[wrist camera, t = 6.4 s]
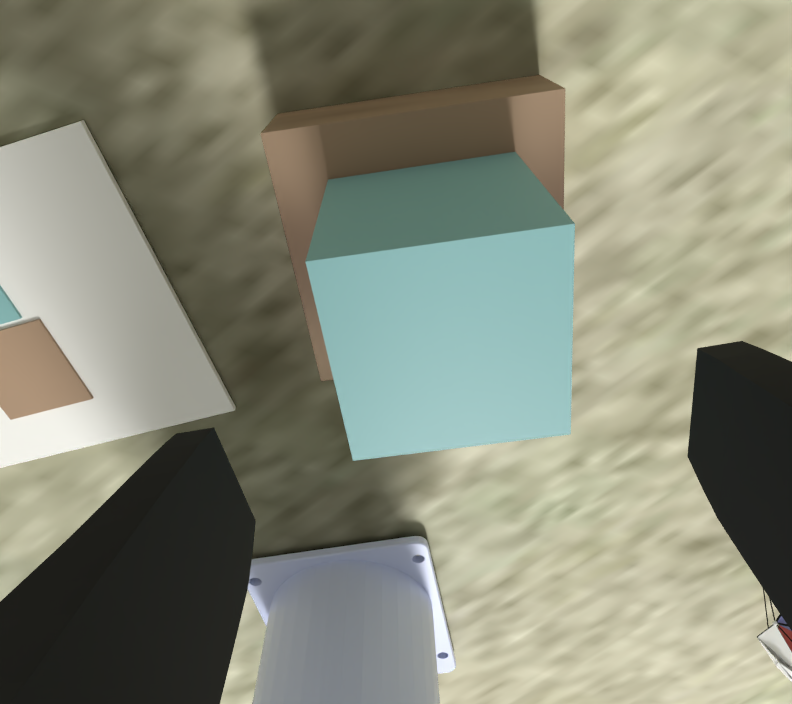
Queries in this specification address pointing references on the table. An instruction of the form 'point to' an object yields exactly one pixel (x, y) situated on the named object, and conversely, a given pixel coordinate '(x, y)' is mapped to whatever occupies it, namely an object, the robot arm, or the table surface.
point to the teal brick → (445, 305)
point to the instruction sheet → (86, 310)
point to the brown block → (405, 151)
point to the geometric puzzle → (778, 644)
